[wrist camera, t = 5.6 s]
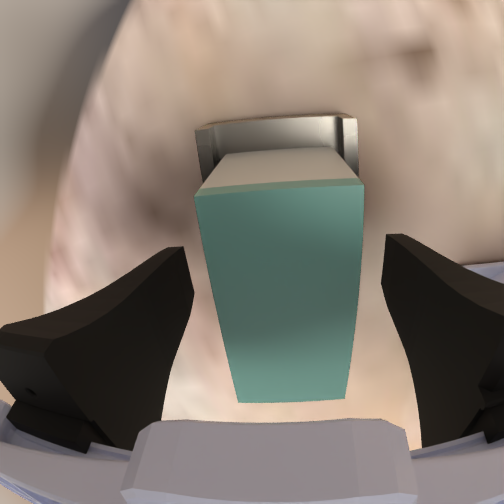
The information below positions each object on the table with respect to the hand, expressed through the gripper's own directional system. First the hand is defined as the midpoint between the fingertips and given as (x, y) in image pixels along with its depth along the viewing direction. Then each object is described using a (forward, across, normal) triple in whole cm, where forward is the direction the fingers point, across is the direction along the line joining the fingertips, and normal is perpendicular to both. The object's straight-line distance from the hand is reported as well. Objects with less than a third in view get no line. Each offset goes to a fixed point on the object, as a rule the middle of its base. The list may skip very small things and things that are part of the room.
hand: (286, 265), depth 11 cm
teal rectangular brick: (+2, 0, 0) cm, 2 cm away
